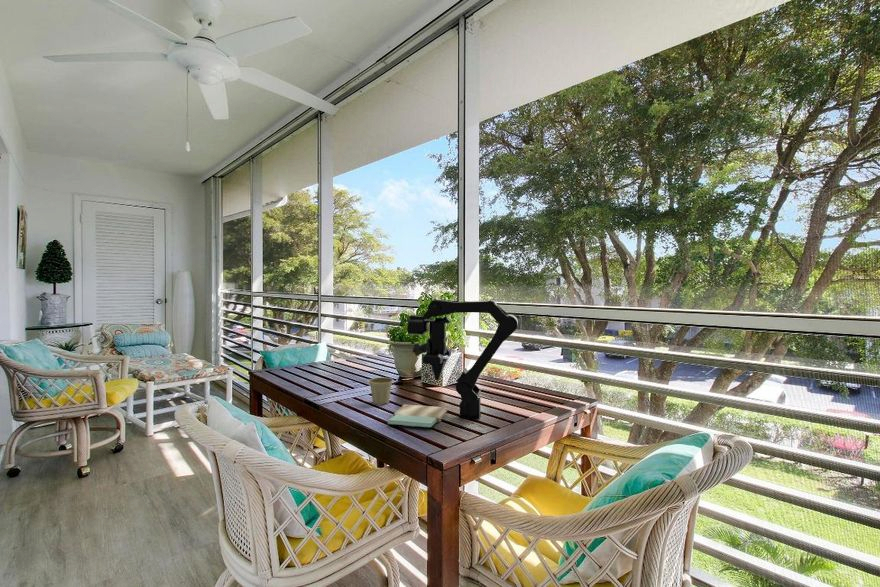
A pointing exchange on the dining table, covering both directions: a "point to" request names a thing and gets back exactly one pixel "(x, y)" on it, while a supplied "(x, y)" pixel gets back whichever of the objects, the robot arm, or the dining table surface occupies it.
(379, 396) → the flower pot
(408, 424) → the panel
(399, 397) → the dining table surface
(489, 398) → the dining table surface
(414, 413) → the beige flat block
